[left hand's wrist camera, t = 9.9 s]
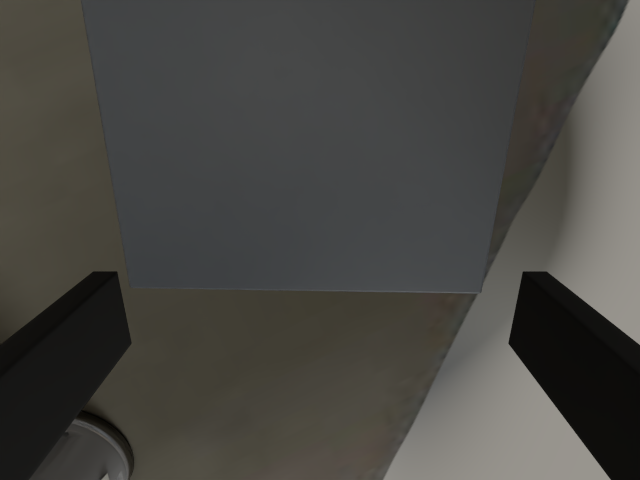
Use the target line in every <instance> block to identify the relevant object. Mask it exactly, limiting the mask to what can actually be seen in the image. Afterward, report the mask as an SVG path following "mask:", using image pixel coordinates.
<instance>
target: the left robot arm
mask: <svg viewBox="0 0 640 480" xmlns="http://www.w3.org/2000/svg"><path fill="white" fill-rule="evenodd" d="M130 345H131V338H130V333H129V328H128V323H127V318H126V313H125V309H124V304H123V299H122V294H121V289H120V284H119V279H118V274H117V272H92V273H91V274H90V275H88V276H87V277H86V278H85V279H83V280H82V281H81V282H80V283H78V284H77V285H76V286H74V287H73V288H72V289H71V290H69V291H68V292H67V293H66V294H64V295H63V296H62V297H61V298H59V299H58V300H57V301H55V302H54V303H53V304H52V305H50V306H49V307H48V308H47V309H45V310H44V311H43V312H42V313H40V314H39V315H38V316H36V317H35V318H34V319H33V320H31V321H30V322H29V323H28V324H26V325H25V326H24V327H23V328H21V329H20V330H19V331H17V332H16V333H15V334H14V335H12V336H11V337H10V338H9V339H7V340H6V341H5V342H4V343H2V344H1V345H0V480H129V479H130V477H131V475H132V472H133V468H134V458H133V454H132V451H131V448H130V446H129V444H128V443H127V441H126V440H125V438H124V437H123V436H122V435H121V434H120V433H119V432H118V431H117V430H116V429H115V428H114V427H112V426H111V425H110V424H108V423H107V422H105V421H103V420H101V419H100V418H97V417H95V416H93V415H90V414H88V413H85V412H81V410H82V409H83V407H84V406H85V405H86V403H87V402H88V401H89V399H90V398H91V397H92V395H93V394H94V393H95V391H96V390H97V389H98V387H99V386H100V385H101V383H102V382H103V381H104V379H105V378H106V377H107V375H108V374H109V373H110V371H111V370H112V369H113V367H114V366H115V365H116V363H117V362H118V361H119V359H120V358H121V357H122V355H123V354H124V353H125V351H126V350H127V349H128V347H129V346H130ZM509 345H510V346H511V347H512V349H513V350H514V351H515V353H516V354H517V355H518V357H519V358H520V359H521V361H522V362H523V363H524V365H525V366H526V367H527V369H528V370H529V371H530V373H531V374H532V375H533V377H534V378H535V379H536V381H537V382H538V383H539V385H540V386H541V387H542V389H543V390H544V391H545V393H546V394H547V395H548V397H549V398H550V399H551V401H552V402H553V403H554V405H555V406H556V407H557V409H558V410H559V411H560V413H561V414H562V415H563V417H564V418H565V419H566V421H567V422H568V423H569V425H570V426H571V427H572V429H573V430H574V431H575V433H576V434H577V435H578V437H579V438H580V439H581V440H582V442H583V443H584V445H585V446H586V447H587V449H588V450H589V451H590V452H591V454H592V455H593V457H594V458H595V459H596V461H597V462H598V463H599V465H600V466H601V467H602V468H603V470H604V471H605V472H606V474H607V475H608V476H609V478H610V479H611V480H640V345H639V344H638V343H636V342H635V341H634V340H633V339H631V338H630V337H629V336H628V335H626V334H625V333H624V332H622V331H621V330H620V329H619V328H617V327H616V326H615V325H614V324H612V323H611V322H610V321H609V320H607V319H606V318H605V317H604V316H602V315H601V314H600V313H598V312H597V311H596V310H595V309H593V308H592V307H591V306H590V305H588V304H587V303H586V302H584V301H583V300H582V299H581V298H579V297H578V296H577V295H576V294H574V293H573V292H572V291H571V290H569V289H568V288H567V287H566V286H564V285H563V284H562V283H560V282H559V281H558V280H557V279H555V278H554V277H553V276H552V275H550V274H549V273H548V272H523V274H522V279H521V284H520V289H519V294H518V299H517V304H516V309H515V313H514V318H513V324H512V328H511V333H510V338H509Z"/></svg>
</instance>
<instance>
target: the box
mask: <svg viewBox="0 0 640 480" xmlns="http://www.w3.org/2000/svg"><path fill="white" fill-rule="evenodd" d="M535 1H536V0H81V4H82V10H83V15H84V21H85V27H86V33H87V39H88V45H89V51H90V56H91V62H92V68H93V74H94V80H95V86H96V92H97V97H98V103H99V109H100V115H101V121H102V127H103V133H104V138H105V144H106V150H107V156H108V162H109V168H110V173H111V179H112V185H113V191H114V197H115V203H116V209H117V214H118V220H119V226H120V232H121V238H122V244H123V250H124V255H125V261H126V267H127V273H128V279H129V285H130V287H131V288H174V289H235V290H295V291H356V292H417V293H477V294H479V293H481V291H482V285H483V280H484V275H485V269H486V264H487V258H488V253H489V248H490V242H491V237H492V232H493V226H494V221H495V216H496V210H497V205H498V200H499V194H500V189H501V183H502V178H503V173H504V167H505V162H506V157H507V151H508V146H509V141H510V135H511V130H512V125H513V119H514V114H515V108H516V103H517V98H518V92H519V87H520V82H521V76H522V71H523V66H524V60H525V55H526V50H527V44H528V39H529V34H530V28H531V23H532V17H533V12H534V7H535Z"/></svg>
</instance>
